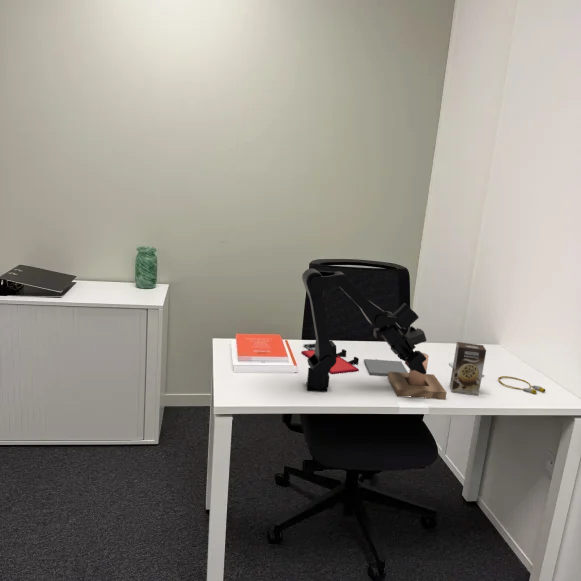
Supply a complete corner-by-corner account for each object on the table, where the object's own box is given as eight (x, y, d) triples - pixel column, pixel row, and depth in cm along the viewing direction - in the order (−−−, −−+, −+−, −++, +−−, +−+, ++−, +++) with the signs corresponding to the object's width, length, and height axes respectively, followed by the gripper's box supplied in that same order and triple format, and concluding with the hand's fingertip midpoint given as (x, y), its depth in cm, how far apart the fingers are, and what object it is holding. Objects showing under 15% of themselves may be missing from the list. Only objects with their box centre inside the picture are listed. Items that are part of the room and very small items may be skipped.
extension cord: (518, 396, 210) (518, 391, 210) (490, 379, 225) (491, 374, 224) (547, 395, 214) (548, 389, 213) (519, 378, 228) (520, 373, 228)
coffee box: (451, 392, 207) (458, 346, 204) (449, 385, 214) (456, 341, 210) (479, 395, 206) (486, 350, 203) (476, 388, 213) (483, 344, 209)
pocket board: (396, 396, 200) (397, 389, 199) (387, 378, 215) (388, 371, 215) (445, 399, 201) (446, 392, 200) (432, 381, 216) (433, 374, 216)
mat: (369, 375, 217) (370, 372, 217) (363, 361, 231) (364, 358, 231) (409, 377, 218) (409, 374, 218) (400, 363, 231) (401, 361, 231)
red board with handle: (325, 344, 248) (292, 347, 241) (326, 337, 247) (292, 341, 240) (367, 371, 222) (331, 376, 215) (368, 364, 221) (332, 368, 214)
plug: (409, 391, 205) (413, 357, 203) (405, 384, 211) (410, 351, 208) (425, 392, 206) (430, 358, 203) (421, 385, 211) (426, 352, 208)
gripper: (424, 330, 193) (452, 364, 198) (403, 314, 211) (429, 345, 216) (397, 353, 194) (425, 387, 198) (378, 335, 211) (405, 366, 216)
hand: (422, 370), depth 207 cm, fingers closed on plug, 5 cm apart
